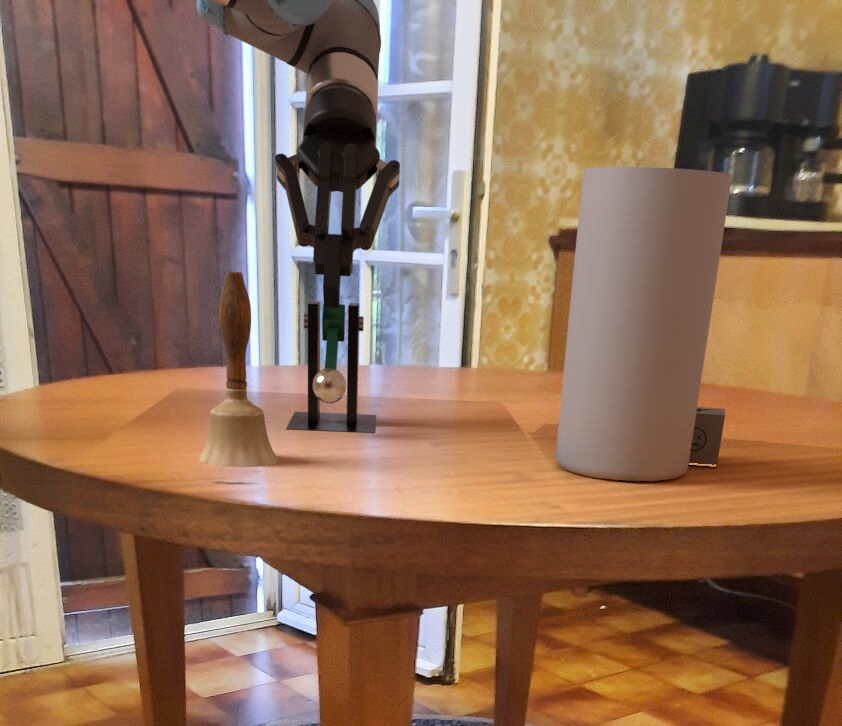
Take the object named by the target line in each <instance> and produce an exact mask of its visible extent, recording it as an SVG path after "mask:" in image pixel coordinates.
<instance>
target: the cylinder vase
mask: <svg viewBox="0 0 842 726" xmlns="http://www.w3.org/2000/svg"><path fill="white" fill-rule="evenodd" d="M732 178H733V174H730V173H727V172H721V171H714V170H705V169H704V170H703V169H690V168H676V167H675V168H674V167H649V166H598V167H586V168H583V170H582V181H581V191H580V199H579V210H578V211H579V212H578V221H577V232H576V241H575V251H574V252H575V253H574V260H573V261H574V263H573V272H572V281H571V290H570V291H571V293H570V303H569V304H570V305H569V313H568V324H567V333H566V343H565V354H564V365H563V375H562V383H561V384H562V385H561V394H560V405H559V416H558V423H557V437H556V446H555V454H554V455H555V461H556V463H557V465H559V466H560V468H561V469H564V470H565V471H568V472H570V473H573V474H577V475H581V476H585V477H589V478H595V479H602V480H609V479H611V481H619V480H622V481H621V482H639V481H647V482H661V481H660V480H664V481H669V480H668V479H670V480H674V479H677V478H679V477H681V476H683V475H685V473H686V472H687V471H688V469H689V466H688V465H689V458H690V451H691V445H692V438H693V432H694V425H695V418H696V412H697V407H698V406H699V405H698V404H699V398H700V392H701V384H702V378H703V371H704V364H705V359H706V353H707V352H706V351H707V344H708V340H709V339H708V338H709V332H710V324H711V320H712V319H711V318H712V312H713V306H714V305H713V304H714V299H715V292H716V284H717V277H718V272H719V266H720V265H719V264H720V258H721V252H722V245H723V239H724V232H725V226H726V219H727V213H728V212H727V211H728V206H729V199H730V192H731V186H732Z"/></svg>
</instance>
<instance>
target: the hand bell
mask: <svg viewBox="0 0 842 726" xmlns="http://www.w3.org/2000/svg"><path fill="white" fill-rule="evenodd" d="M218 304H219V306H218V318H219V328H220V334H221V338H222V341H223V345H224V348H225V354H226V379H227V380H226V382H225V387H226V390H225V391H226V392H225V393H226V394H225V395H226V396H225V399H224V401H222V402H221V403H219V404H218V405H216V406H214V407H213V408H211V411H210V415H209V416H210V417H209V429H208V436H207V439H206V444H205V446H204V449H203V451H202V453H201V455H200V457H199V459H198V460H199V461H200V462H201V463H203V464H206V465H211V466H217V467H225V468H256V467H257V468H258V467H260V468H261V467H267V466H272V465H275V464H277V463H278V462H279V458H278V457H277V455H276V453H275V451H274V450H273V447H272V445H271V443H270V439H269V436H268V432H267V425H266V420H265V412H264V410H263V409H262V408H261V407H259V406H257V405H255V404H253V403H252V402H251V401H250V400H249V398H248V392H247V390H248V389H247V387H248V381H247V364H246V358H247V357H246V356H247V348H248V344H249V341H250V335H251V329H252V306H251V300H250V297H249V293H248V290H247V287H246V284H245V281H244V275H243V272H241V271H226V272H225V278H224V283H223V287H222V290H221V294H220V298H219V303H218ZM217 482H221V483H222V481H220V480H219V481H216V483H217ZM236 483H239V484H241V483H242V484H243V483H245V484H246V482H243V481H242V482H241V481H236Z"/></svg>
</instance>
